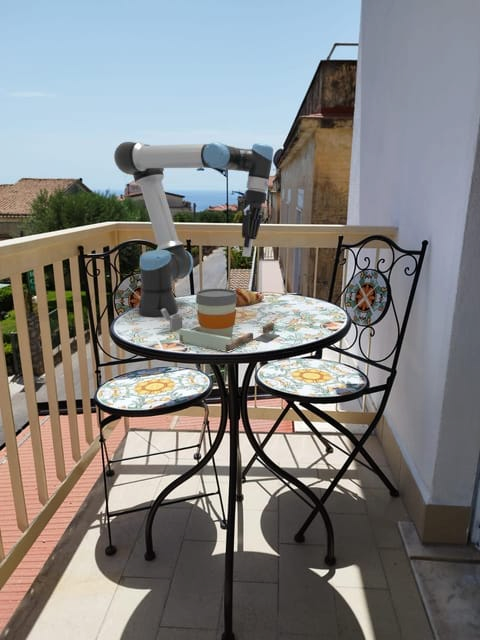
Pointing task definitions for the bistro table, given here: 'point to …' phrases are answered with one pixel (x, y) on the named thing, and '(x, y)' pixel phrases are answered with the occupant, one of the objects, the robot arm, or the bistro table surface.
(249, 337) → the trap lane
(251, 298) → the croissant
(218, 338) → the pale grey board
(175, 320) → the lighter
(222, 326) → the reusable coffee cup
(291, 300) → the bistro table surface
